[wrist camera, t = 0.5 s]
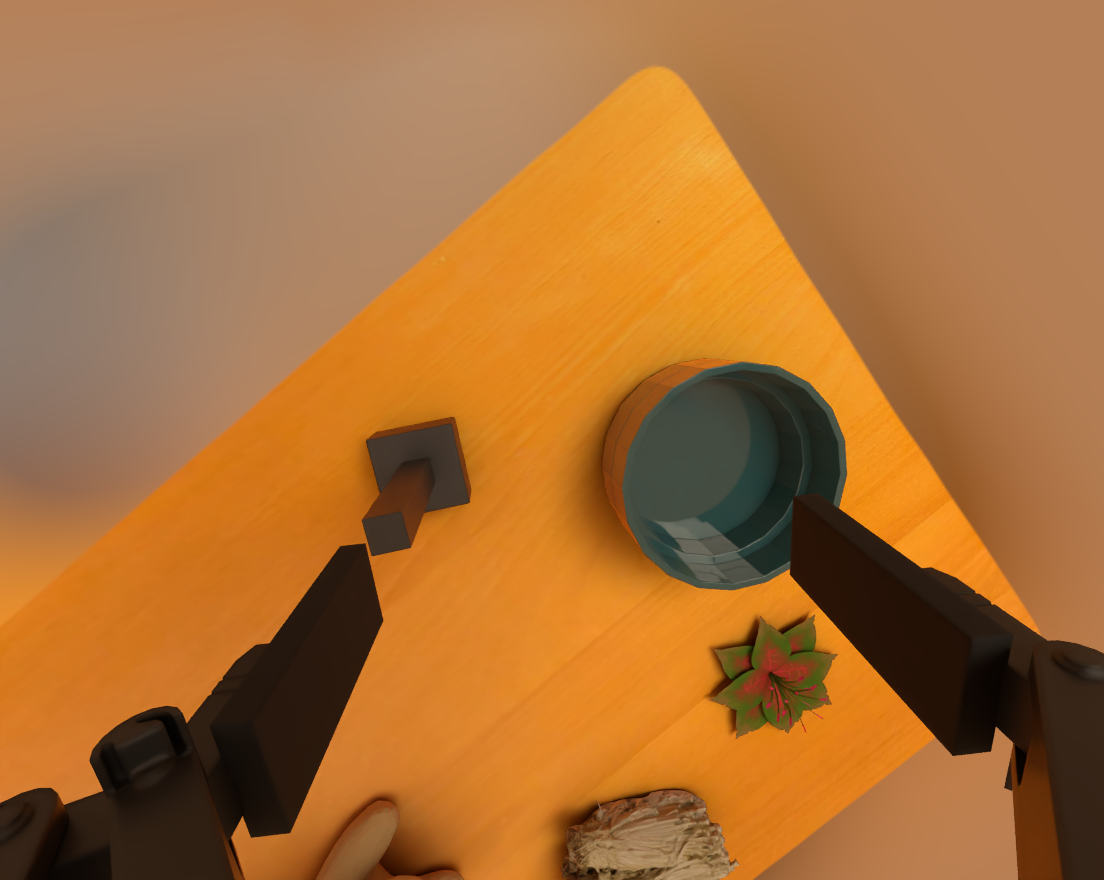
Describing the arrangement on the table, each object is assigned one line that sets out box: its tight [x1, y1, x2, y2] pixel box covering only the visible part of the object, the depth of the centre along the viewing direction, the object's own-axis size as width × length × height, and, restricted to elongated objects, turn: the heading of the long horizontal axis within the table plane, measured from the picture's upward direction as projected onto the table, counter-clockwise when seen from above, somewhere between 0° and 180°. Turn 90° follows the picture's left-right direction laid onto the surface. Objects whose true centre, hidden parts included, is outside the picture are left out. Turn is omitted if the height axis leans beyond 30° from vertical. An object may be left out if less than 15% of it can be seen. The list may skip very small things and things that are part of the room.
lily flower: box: [710, 615, 838, 739], centre depth 41 cm, size 12×12×5 cm
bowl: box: [602, 358, 847, 590], centre depth 36 cm, size 15×15×6 cm
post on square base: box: [362, 417, 471, 556], centre depth 30 cm, size 6×6×14 cm
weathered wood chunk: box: [560, 790, 739, 880], centre depth 43 cm, size 14×10×5 cm, turn 94°
